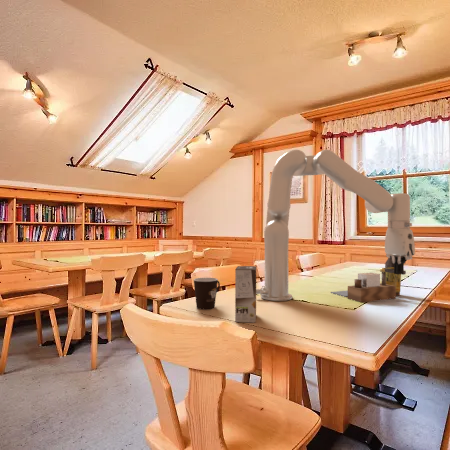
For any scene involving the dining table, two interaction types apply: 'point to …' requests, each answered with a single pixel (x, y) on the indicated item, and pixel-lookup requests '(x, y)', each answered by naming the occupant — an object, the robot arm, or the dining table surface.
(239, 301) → the coffee box
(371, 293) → the body
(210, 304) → the coffee mug
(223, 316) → the dining table surface
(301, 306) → the dining table surface
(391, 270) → the lever
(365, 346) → the dining table surface
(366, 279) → the lever cap
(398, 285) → the sauce bottle
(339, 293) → the felt pad
